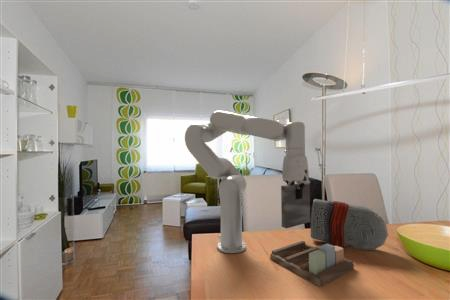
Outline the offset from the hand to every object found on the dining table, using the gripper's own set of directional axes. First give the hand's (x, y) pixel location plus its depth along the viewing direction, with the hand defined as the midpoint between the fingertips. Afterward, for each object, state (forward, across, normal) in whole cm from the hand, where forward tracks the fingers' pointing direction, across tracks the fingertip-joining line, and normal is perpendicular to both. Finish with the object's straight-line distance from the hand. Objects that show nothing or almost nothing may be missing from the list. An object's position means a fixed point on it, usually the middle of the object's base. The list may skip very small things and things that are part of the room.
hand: (295, 197), depth 92 cm
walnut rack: (+24, +6, 0) cm, 25 cm away
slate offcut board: (+24, +14, 0) cm, 27 cm away
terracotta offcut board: (+24, +14, +5) cm, 28 cm away
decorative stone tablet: (+24, +5, +27) cm, 36 cm away
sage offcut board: (+24, +14, -6) cm, 28 cm away
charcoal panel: (+11, 0, 0) cm, 11 cm away
